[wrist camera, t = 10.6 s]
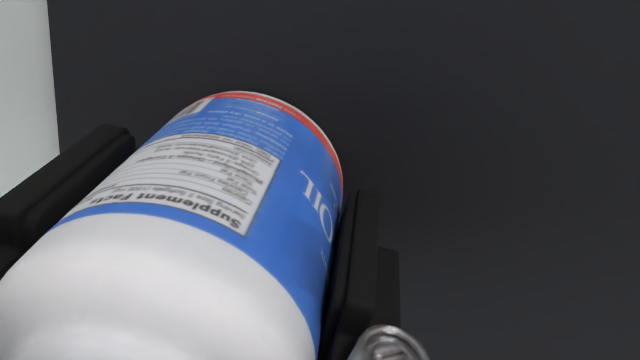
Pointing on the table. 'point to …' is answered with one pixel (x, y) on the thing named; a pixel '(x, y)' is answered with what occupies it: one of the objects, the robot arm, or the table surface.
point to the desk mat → (421, 141)
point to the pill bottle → (189, 246)
